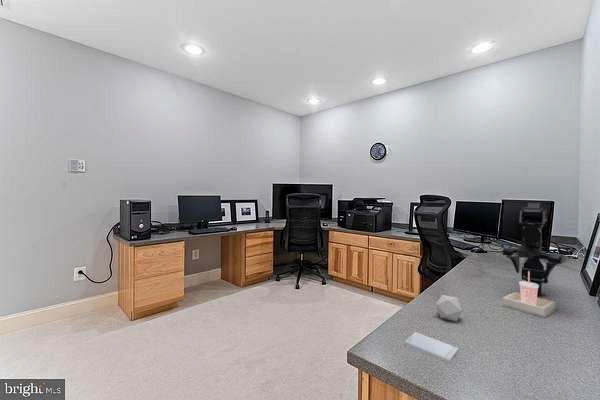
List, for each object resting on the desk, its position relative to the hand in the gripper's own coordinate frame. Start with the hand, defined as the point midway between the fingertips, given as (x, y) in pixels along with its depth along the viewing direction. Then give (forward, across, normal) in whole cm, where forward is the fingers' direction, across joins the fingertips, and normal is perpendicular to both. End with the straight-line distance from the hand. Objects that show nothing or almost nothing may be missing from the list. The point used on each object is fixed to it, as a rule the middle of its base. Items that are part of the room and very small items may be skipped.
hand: (531, 275), depth 108 cm
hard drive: (+12, -4, -65) cm, 66 cm away
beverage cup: (+12, 0, -4) cm, 12 cm away
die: (+12, -12, -41) cm, 44 cm away
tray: (+13, 0, -4) cm, 13 cm away
